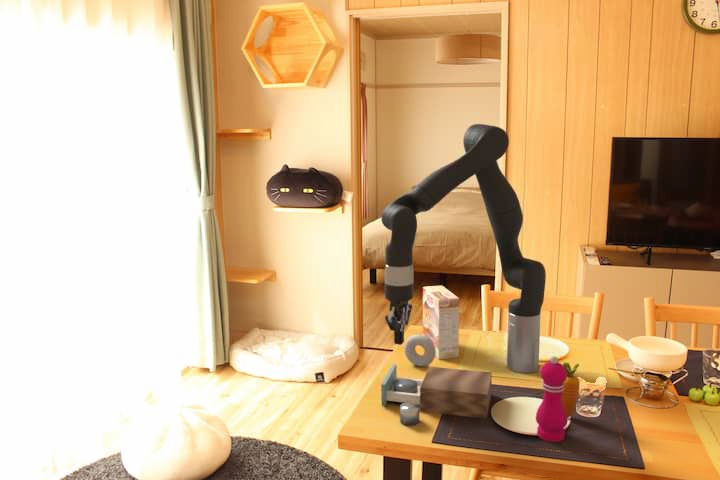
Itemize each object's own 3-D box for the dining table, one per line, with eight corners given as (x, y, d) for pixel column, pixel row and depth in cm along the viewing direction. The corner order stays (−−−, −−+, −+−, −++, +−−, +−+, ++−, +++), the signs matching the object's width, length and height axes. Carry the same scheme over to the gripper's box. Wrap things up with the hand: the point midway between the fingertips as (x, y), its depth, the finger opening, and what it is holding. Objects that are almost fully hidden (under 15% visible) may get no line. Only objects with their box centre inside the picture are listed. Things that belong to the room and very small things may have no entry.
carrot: (578, 415, 164) (581, 359, 161) (576, 424, 160) (579, 367, 157) (558, 411, 166) (561, 356, 163) (555, 420, 162) (558, 364, 159)
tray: (453, 390, 179) (453, 369, 178) (446, 412, 166) (446, 390, 165) (393, 384, 184) (392, 364, 183) (381, 405, 171) (381, 384, 170)
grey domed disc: (418, 385, 178) (418, 379, 178) (415, 396, 172) (415, 390, 172) (395, 383, 179) (395, 377, 179) (391, 394, 173) (391, 387, 173)
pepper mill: (567, 430, 157) (571, 352, 153) (566, 445, 150) (570, 364, 146) (536, 426, 159) (539, 349, 155) (534, 440, 152) (537, 360, 148)
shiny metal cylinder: (420, 418, 164) (420, 403, 164) (417, 427, 160) (417, 412, 159) (402, 415, 166) (402, 401, 165) (398, 424, 161) (398, 409, 160)
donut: (437, 366, 196) (437, 335, 194) (433, 370, 193) (433, 339, 191) (407, 361, 201) (407, 330, 199) (402, 365, 198) (402, 334, 196)
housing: (491, 394, 177) (491, 372, 175) (486, 418, 164) (487, 394, 162) (429, 388, 181) (429, 366, 180) (420, 411, 168) (420, 387, 167)
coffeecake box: (422, 343, 215) (421, 286, 211) (442, 341, 217) (442, 284, 213) (438, 360, 201) (438, 299, 197) (459, 357, 203) (460, 297, 199)
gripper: (402, 288, 162) (402, 354, 166) (421, 276, 174) (421, 337, 178) (375, 285, 166) (375, 349, 169) (396, 273, 177) (396, 333, 181)
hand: (399, 343), depth 173 cm, fingers closed
